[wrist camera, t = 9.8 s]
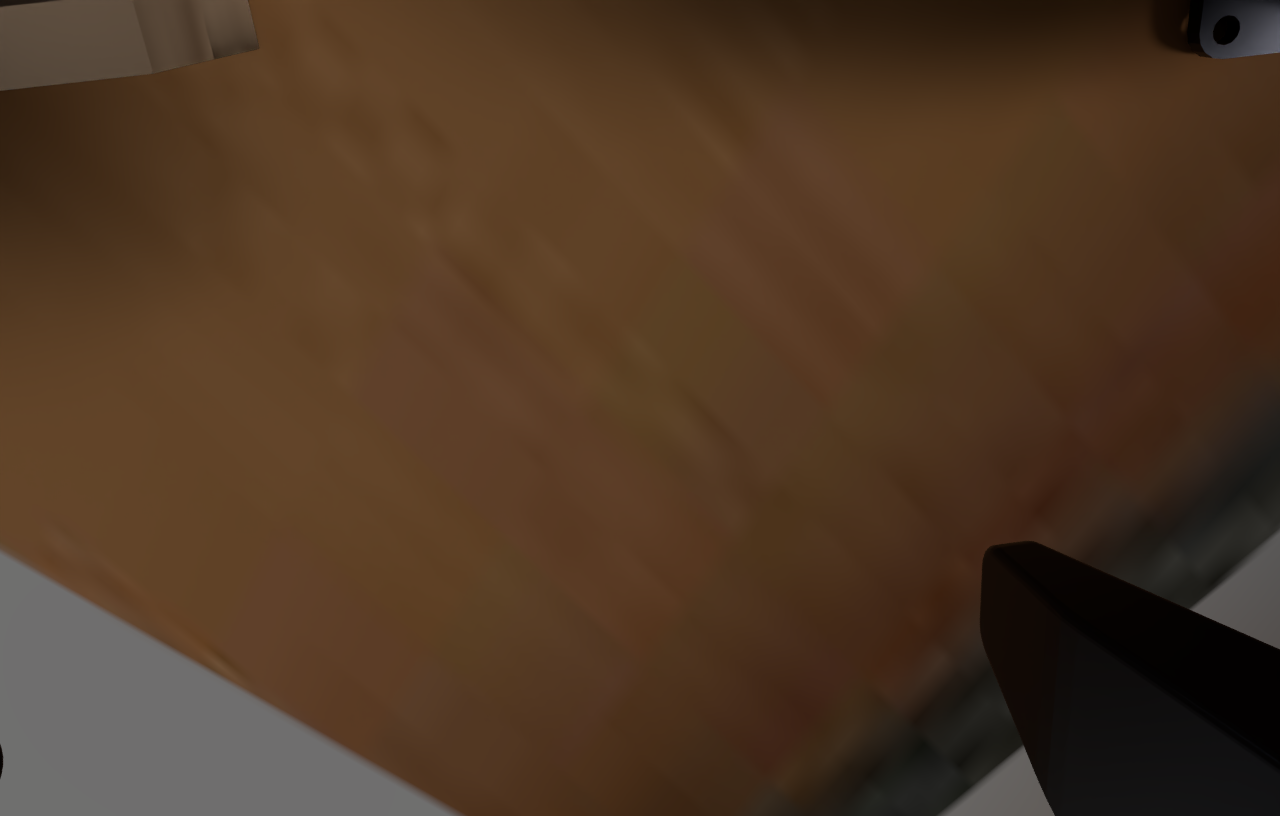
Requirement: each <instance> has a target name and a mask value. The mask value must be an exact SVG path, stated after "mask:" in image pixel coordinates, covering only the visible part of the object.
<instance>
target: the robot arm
mask: <svg viewBox="0 0 1280 816" xmlns="http://www.w3.org/2000/svg"><path fill="white" fill-rule="evenodd" d="M1222 17H1224V18H1225V20H1226V22H1227V29H1226V32H1225V35H1224V36H1223V37H1222V38H1221V39H1220V40H1219V41H1218V42H1216V41H1215V40H1214V39H1213V29H1214V27H1215V24H1216V23H1217V22H1218V21H1219V20H1220V19H1221V18H1222ZM1187 35H1188V44H1189V45H1190V47H1191V49H1192V51H1193V52H1195V53H1196V54H1198V55H1199V56H1202V57H1210V58H1219V59H1226V58H1235V57H1244V56H1253V55H1261V54H1270V53H1279V52H1280V0H1191V4H1190V13H1189V22H1188V30H1187ZM980 632H981V637H982V642H983V646H984V649H985V651H986V654H987V657H988V659H989V661H990V664H991V666H992V669H993V671H994V674H995V676H996V679H997V681H998V683H999V686H1000V688H1001V691H1002V693H1003V696H1004V698H1005V701H1006V703H1007V706H1008V708H1009V710H1010V713H1011V715H1012V718H1013V720H1014V723H1015V725H1016V728H1017V730H1018V732H1019V735H1020V737H1021V740H1022V742H1023V745H1024V747H1025V750H1026V752H1027V755H1028V757H1029V759H1030V762H1031V764H1032V767H1033V769H1034V772H1035V774H1036V776H1037V778H1038V781H1039V783H1040V786H1041V788H1042V790H1043V792H1044V794H1045V797H1046V799H1047V801H1048V803H1049V805H1050V807H1051V809H1052V811H1053V813H1054V815H1055V816H1280V649H1278V648H1275V647H1273V646H1271V645H1268V644H1266V643H1264V642H1262V641H1259V640H1257V639H1255V638H1253V637H1250V636H1248V635H1246V634H1244V633H1241V632H1239V631H1237V630H1234V629H1232V628H1230V627H1227V626H1225V625H1223V624H1221V623H1219V622H1216V621H1214V620H1212V619H1209V618H1207V617H1205V616H1203V615H1200V614H1198V613H1196V612H1193V611H1191V610H1189V609H1187V608H1185V607H1182V606H1180V605H1178V604H1175V603H1173V602H1171V601H1169V600H1166V599H1164V598H1162V597H1160V596H1157V595H1155V594H1153V593H1151V592H1148V591H1146V590H1144V589H1141V588H1139V587H1137V586H1135V585H1132V584H1130V583H1128V582H1126V581H1123V580H1121V579H1119V578H1116V577H1114V576H1112V575H1110V574H1107V573H1105V572H1103V571H1101V570H1098V569H1096V568H1094V567H1092V566H1089V565H1087V564H1085V563H1082V562H1080V561H1078V560H1076V559H1073V558H1071V557H1069V556H1067V555H1064V554H1062V553H1060V552H1058V551H1055V550H1053V549H1051V548H1048V547H1046V546H1044V545H1042V544H1039V543H1037V542H1034V541H1022V542H1014V543H1007V544H999V545H993V546H990V547H989V548H988V549H987V550H986V552H985V554H984V557H983V562H982V582H981V605H980ZM2 768H3V754H2V748H1V745H0V778H1V774H2Z"/></svg>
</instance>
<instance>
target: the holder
mask: <svg viewBox="0 0 1280 816" xmlns="http://www.w3.org/2000/svg"><path fill="white" fill-rule="evenodd" d="M256 49H259V45H258V41H257V37H256V32H255V28H254V24H253V20H252V16H251V12H250V8H249V3H248V0H0V91H3V90H12V89H21V88H30V87H39V86H48V85H56V84H65V83H74V82H83V81H92V80H101V79H110V78H119V77H128V76H137V75H146V74H154V73H158V72H162V71H167V70H171V69H175V68H179V67H184V66H188V65H192V64H196V63H201V62H205V61H209V60H213V59H218V58H222V57H226V56H230V55H235V54H239V53H243V52H247V51H252V50H256Z"/></svg>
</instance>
